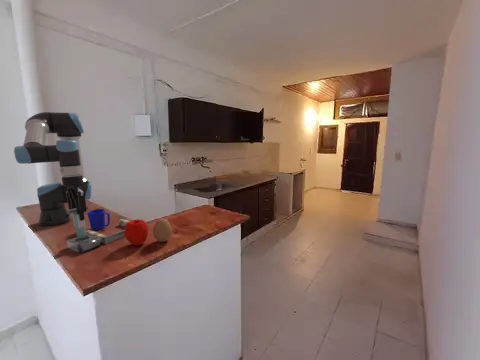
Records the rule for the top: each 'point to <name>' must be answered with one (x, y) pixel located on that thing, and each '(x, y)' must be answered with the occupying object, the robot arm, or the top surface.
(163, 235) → the egg
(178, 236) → the top surface
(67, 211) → the crank peg
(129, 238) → the apple
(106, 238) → the bay
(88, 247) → the block
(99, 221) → the mug
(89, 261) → the top surface
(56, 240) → the top surface
